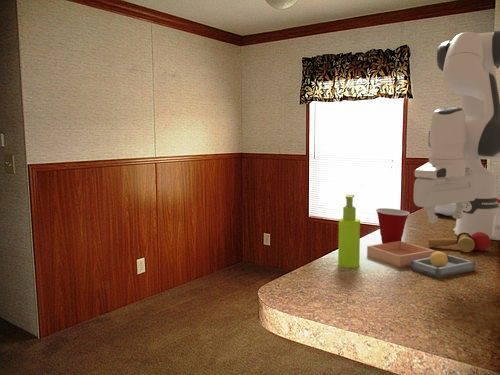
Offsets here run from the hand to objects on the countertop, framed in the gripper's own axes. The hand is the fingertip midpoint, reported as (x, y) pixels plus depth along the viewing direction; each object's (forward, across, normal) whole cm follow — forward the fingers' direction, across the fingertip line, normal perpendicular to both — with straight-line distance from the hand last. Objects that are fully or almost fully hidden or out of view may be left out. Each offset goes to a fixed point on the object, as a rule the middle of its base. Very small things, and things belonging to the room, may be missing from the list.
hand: (445, 220), depth 116 cm
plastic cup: (+14, -7, -27) cm, 31 cm away
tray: (+14, +1, 0) cm, 14 cm away
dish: (+14, +3, -13) cm, 19 cm away
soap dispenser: (+13, +20, -16) cm, 29 cm away
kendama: (+14, -22, -13) cm, 29 cm away
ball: (+10, +2, 0) cm, 11 cm away
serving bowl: (+16, -73, -56) cm, 93 cm away
